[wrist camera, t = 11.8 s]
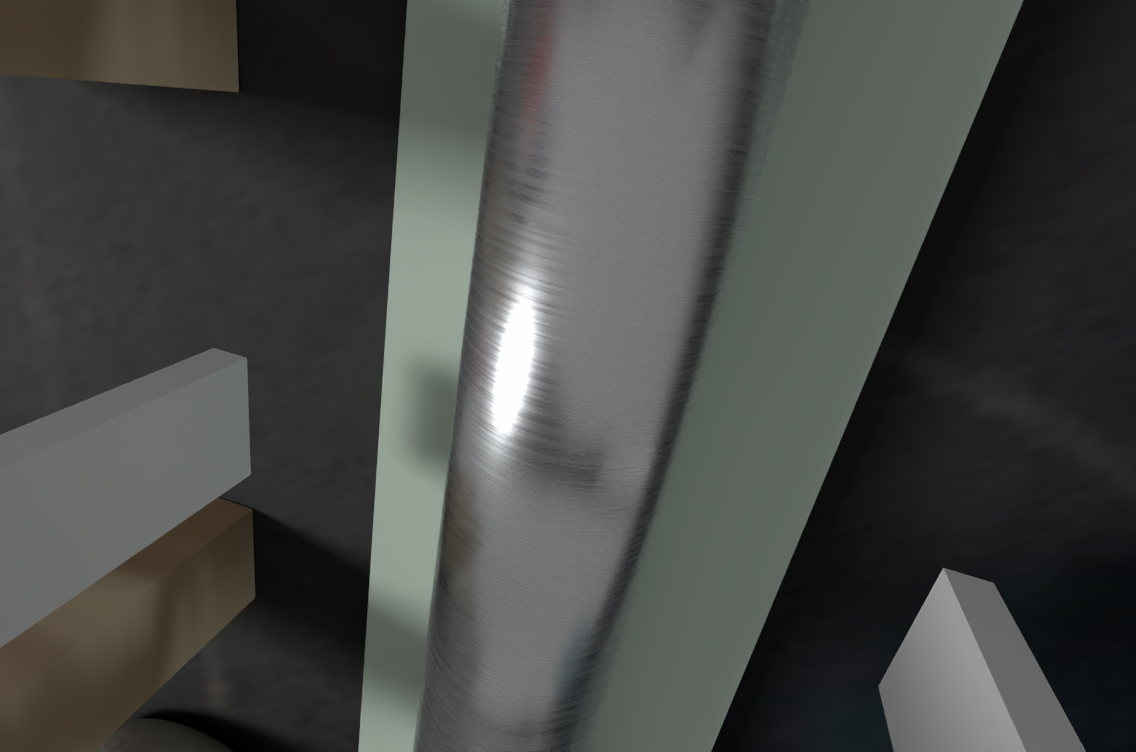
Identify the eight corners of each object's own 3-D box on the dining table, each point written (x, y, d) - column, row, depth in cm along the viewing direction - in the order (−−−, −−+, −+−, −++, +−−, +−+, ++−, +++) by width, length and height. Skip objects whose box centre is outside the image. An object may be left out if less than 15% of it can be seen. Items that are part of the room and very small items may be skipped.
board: (460, -420, 10) (438, -463, 9) (1162, -383, 8) (1203, -433, 7) (370, 744, 21) (357, 766, 20) (656, 861, 19) (653, 889, 19)
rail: (581, -284, 9) (442, -634, 5) (911, -253, 9) (1077, -639, 4) (432, 760, 19) (342, 940, 15) (580, 819, 18) (529, 1028, 14)
